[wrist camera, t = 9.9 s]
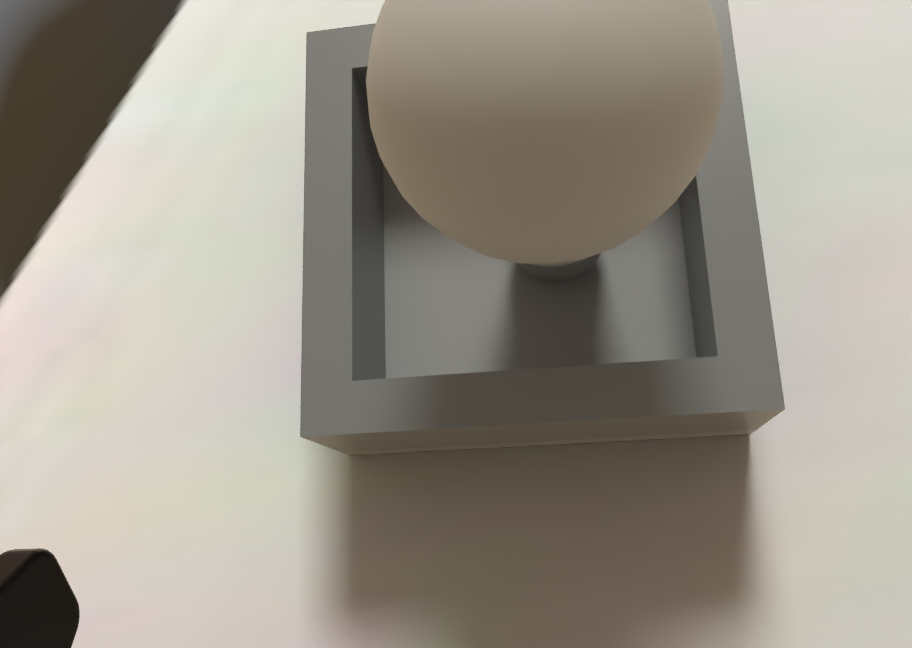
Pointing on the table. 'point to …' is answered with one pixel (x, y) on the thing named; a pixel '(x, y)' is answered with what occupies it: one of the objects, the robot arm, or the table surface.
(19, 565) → the robot arm
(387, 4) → the lightbulb
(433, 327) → the socket
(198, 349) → the table surface
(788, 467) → the table surface
